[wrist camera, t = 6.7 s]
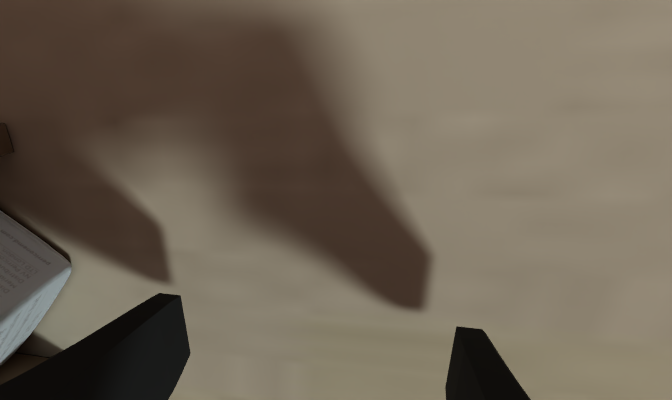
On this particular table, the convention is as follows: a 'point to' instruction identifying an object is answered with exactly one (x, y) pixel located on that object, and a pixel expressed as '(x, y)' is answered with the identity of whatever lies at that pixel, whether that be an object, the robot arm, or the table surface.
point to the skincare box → (25, 283)
